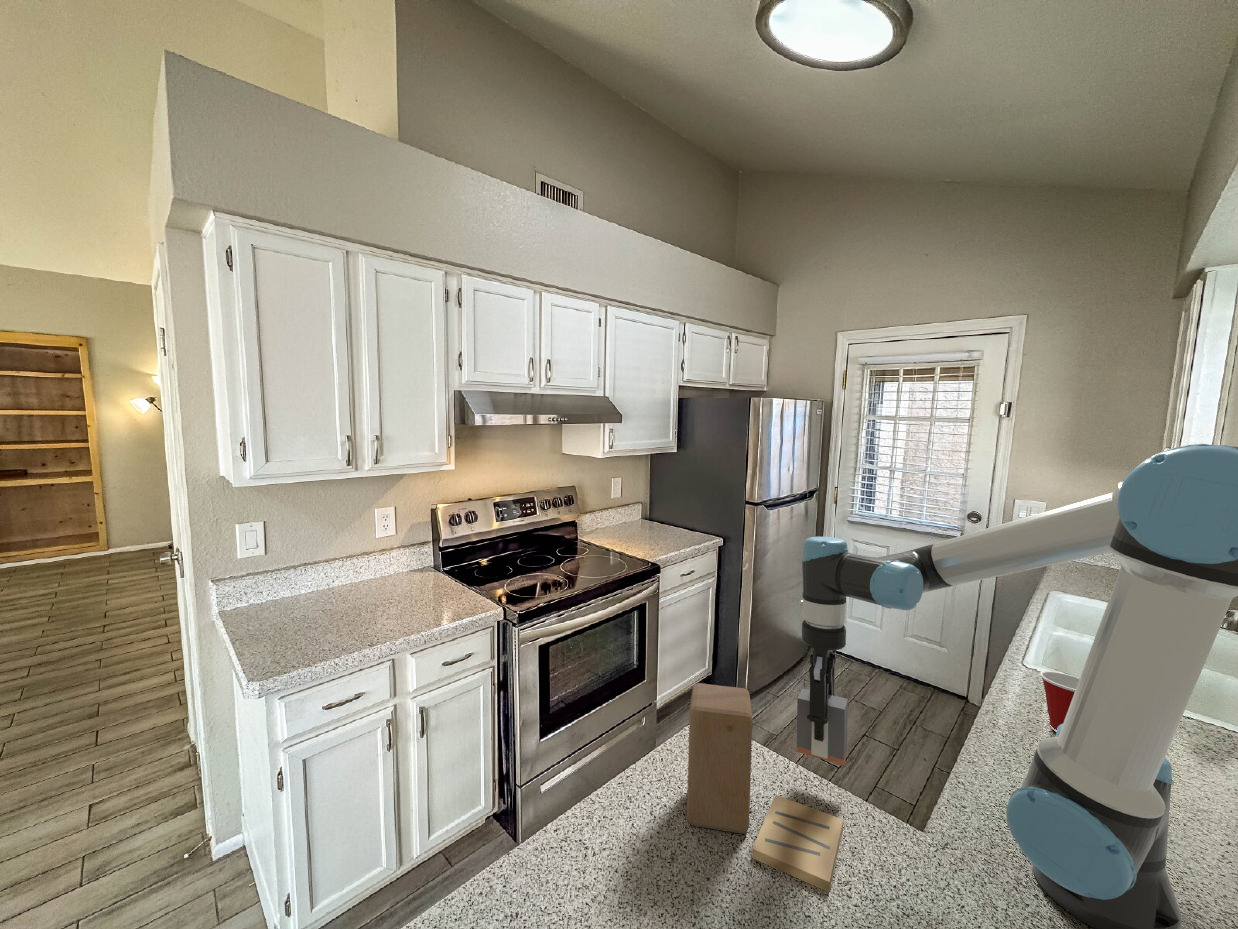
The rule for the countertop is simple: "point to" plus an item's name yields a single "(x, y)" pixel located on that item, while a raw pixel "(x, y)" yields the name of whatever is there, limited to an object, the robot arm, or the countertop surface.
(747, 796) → the wooden block
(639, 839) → the countertop surface
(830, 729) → the block
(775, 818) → the board
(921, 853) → the countertop surface
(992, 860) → the countertop surface
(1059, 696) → the plastic cup
